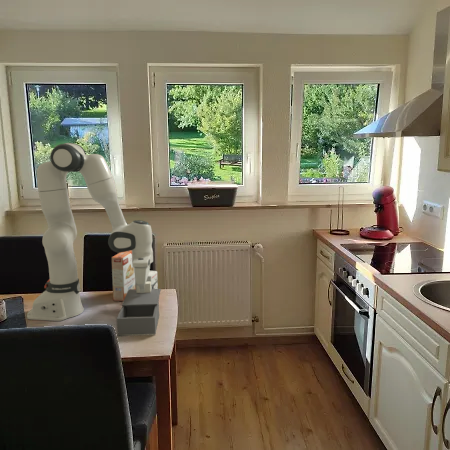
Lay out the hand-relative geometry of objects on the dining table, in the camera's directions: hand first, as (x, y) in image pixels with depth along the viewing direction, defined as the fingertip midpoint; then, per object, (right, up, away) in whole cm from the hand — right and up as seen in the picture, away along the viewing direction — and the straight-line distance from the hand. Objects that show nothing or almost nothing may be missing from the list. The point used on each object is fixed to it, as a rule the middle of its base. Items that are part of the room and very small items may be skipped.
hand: (143, 288), depth 180 cm
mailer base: (+1, -12, -15) cm, 20 cm away
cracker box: (-12, -6, +17) cm, 22 cm away
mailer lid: (+1, -3, -6) cm, 6 cm away
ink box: (0, -7, +16) cm, 17 cm away
